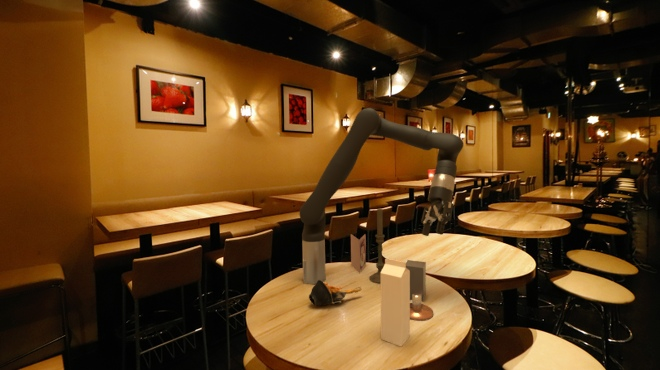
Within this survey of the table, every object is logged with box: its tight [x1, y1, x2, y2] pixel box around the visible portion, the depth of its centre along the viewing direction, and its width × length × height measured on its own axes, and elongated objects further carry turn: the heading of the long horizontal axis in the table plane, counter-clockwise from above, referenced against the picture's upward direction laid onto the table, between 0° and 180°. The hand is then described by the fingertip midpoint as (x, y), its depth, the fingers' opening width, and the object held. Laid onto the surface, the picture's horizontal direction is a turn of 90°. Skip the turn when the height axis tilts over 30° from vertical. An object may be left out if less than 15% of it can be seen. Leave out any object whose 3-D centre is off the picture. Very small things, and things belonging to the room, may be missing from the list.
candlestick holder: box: [368, 208, 385, 285], centre depth 122 cm, size 9×9×30 cm
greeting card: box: [350, 233, 367, 274], centre depth 136 cm, size 11×7×15 cm, turn 160°
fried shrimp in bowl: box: [308, 280, 363, 307], centre depth 105 cm, size 9×11×18 cm
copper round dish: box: [410, 293, 434, 322], centre depth 96 cm, size 10×10×6 cm
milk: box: [380, 258, 411, 347], centre depth 82 cm, size 6×6×22 cm
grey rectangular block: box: [405, 259, 427, 303], centre depth 107 cm, size 6×6×12 cm
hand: (431, 234), depth 98 cm, fingers open, 8 cm apart
